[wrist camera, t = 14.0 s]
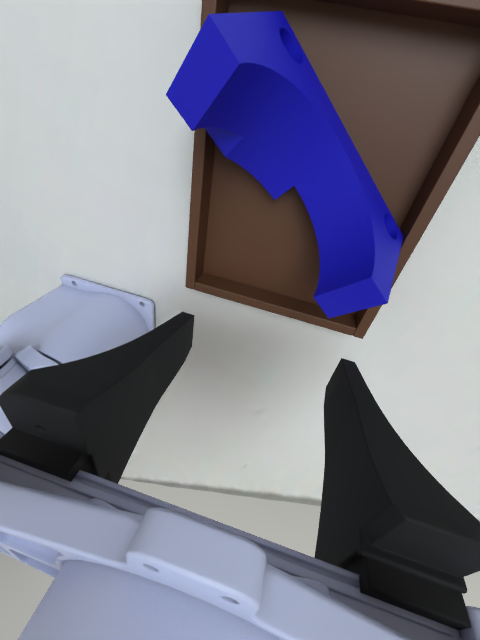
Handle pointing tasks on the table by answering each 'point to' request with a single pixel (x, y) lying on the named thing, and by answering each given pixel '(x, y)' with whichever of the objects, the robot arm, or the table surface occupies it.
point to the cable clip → (291, 147)
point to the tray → (366, 134)
